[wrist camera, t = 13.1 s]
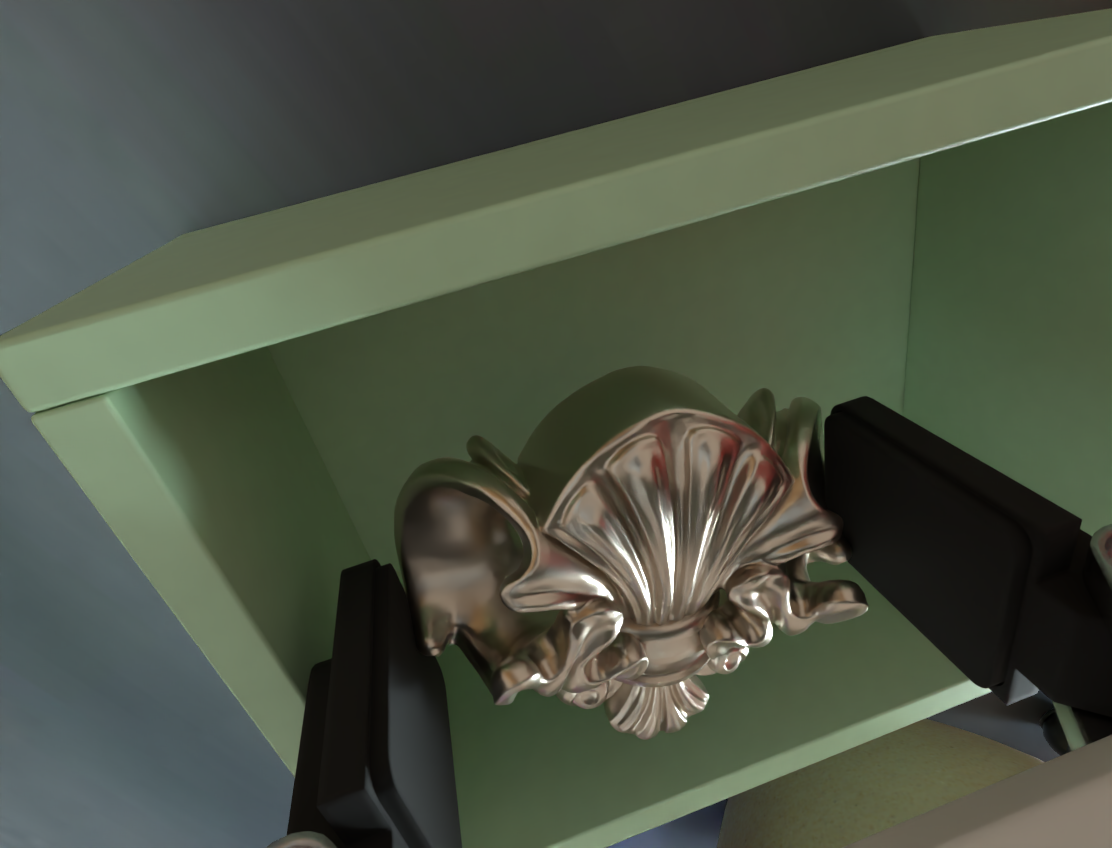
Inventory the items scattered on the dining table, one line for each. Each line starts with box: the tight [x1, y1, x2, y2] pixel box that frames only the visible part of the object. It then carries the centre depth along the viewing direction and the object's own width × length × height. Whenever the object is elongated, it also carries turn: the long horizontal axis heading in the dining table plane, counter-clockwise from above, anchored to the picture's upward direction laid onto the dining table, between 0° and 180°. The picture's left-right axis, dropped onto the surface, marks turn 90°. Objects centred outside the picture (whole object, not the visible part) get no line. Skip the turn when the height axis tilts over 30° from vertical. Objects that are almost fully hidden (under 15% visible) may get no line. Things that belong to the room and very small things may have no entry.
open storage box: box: [0, 8, 1112, 848], centre depth 13 cm, size 17×13×7 cm
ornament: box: [394, 366, 868, 740], centre depth 10 cm, size 8×7×4 cm
